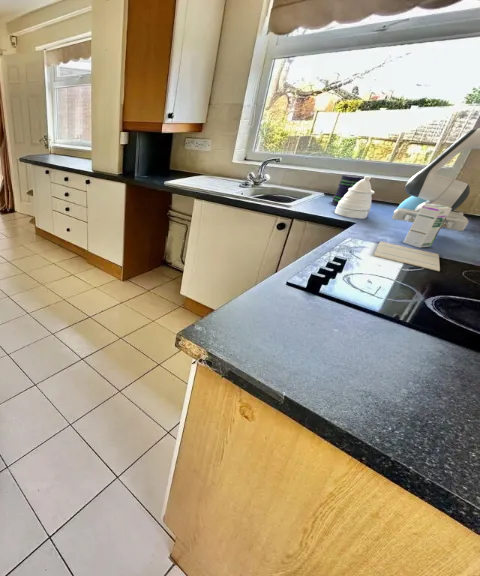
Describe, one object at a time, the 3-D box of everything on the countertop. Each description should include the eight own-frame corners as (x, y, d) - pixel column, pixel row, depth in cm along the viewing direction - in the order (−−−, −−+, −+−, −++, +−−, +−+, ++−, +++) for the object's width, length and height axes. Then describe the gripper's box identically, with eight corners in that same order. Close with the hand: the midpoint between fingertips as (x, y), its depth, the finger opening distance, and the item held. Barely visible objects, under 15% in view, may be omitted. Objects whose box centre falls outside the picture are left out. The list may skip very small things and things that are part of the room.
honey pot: (369, 220, 146) (388, 179, 137) (336, 215, 150) (353, 176, 142) (362, 213, 156) (380, 175, 147) (332, 209, 161) (347, 172, 152)
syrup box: (419, 248, 114) (442, 208, 107) (401, 242, 119) (422, 203, 112) (430, 247, 115) (453, 207, 108) (412, 241, 120) (433, 203, 113)
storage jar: (326, 202, 176) (337, 174, 169) (341, 202, 178) (353, 174, 170) (341, 207, 167) (354, 177, 160) (357, 207, 169) (370, 178, 162)
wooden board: (438, 254, 108) (438, 254, 108) (439, 271, 95) (440, 270, 95) (380, 242, 118) (380, 241, 118) (373, 255, 105) (374, 254, 105)
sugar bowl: (415, 213, 162) (428, 190, 156) (443, 222, 149) (458, 197, 143) (386, 212, 162) (398, 188, 156) (411, 220, 149) (425, 195, 143)
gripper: (398, 202, 128) (395, 208, 119) (469, 213, 116) (472, 220, 107) (390, 218, 131) (387, 224, 122) (459, 230, 119) (461, 238, 110)
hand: (427, 222), depth 115 cm, fingers open, 8 cm apart
